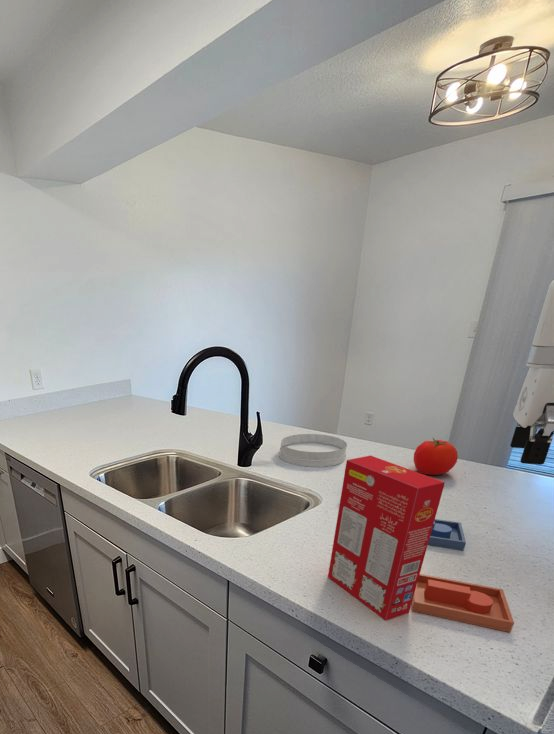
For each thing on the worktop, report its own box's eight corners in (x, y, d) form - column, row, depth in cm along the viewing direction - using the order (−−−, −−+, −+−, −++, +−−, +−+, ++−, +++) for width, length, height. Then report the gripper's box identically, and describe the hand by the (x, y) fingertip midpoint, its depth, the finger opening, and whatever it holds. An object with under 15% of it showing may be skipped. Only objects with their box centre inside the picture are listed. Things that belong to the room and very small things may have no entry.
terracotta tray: (499, 598, 80) (503, 589, 79) (510, 632, 72) (514, 623, 71) (411, 580, 86) (413, 572, 85) (411, 610, 78) (414, 601, 77)
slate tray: (458, 530, 102) (461, 522, 101) (463, 550, 94) (466, 542, 94) (391, 520, 108) (392, 513, 108) (390, 538, 101) (391, 531, 100)
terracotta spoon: (423, 589, 82) (427, 576, 81) (488, 602, 78) (493, 588, 77) (424, 602, 79) (428, 588, 78) (492, 616, 75) (497, 602, 73)
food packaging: (408, 612, 77) (444, 482, 66) (385, 620, 76) (418, 488, 64) (348, 571, 90) (370, 455, 78) (327, 577, 88) (346, 459, 77)
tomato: (422, 463, 142) (430, 432, 137) (460, 473, 133) (470, 440, 128) (401, 472, 136) (408, 440, 132) (438, 482, 127) (447, 448, 123)
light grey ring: (346, 449, 158) (348, 435, 156) (344, 469, 141) (346, 454, 138) (284, 444, 167) (285, 432, 165) (274, 463, 149) (275, 449, 147)
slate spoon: (400, 524, 105) (403, 513, 104) (449, 531, 101) (452, 520, 100) (400, 532, 102) (403, 521, 100) (450, 540, 97) (454, 528, 96)
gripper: (518, 351, 81) (493, 441, 88) (540, 363, 67) (508, 468, 75) (571, 350, 77) (540, 443, 85) (605, 363, 64) (565, 472, 72)
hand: (525, 455), depth 80 cm, fingers open, 9 cm apart
